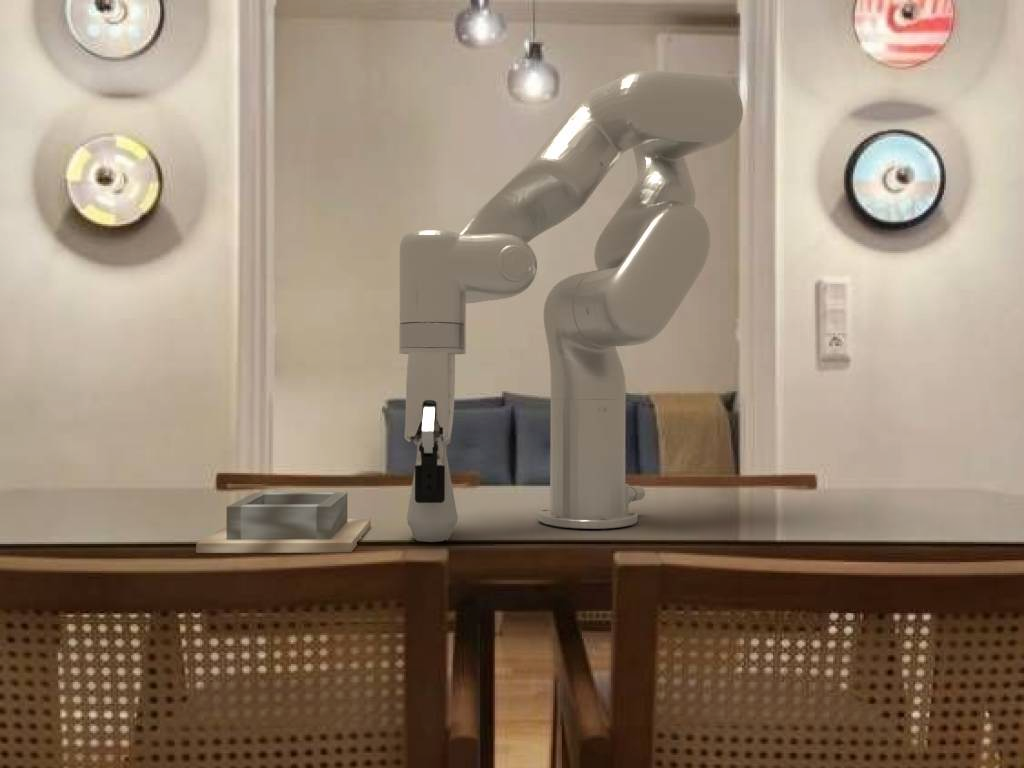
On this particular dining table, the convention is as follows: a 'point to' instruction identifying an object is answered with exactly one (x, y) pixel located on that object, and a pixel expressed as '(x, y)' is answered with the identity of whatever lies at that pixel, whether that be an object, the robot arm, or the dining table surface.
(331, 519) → the holder
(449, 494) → the salt shaker
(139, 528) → the dining table surface
